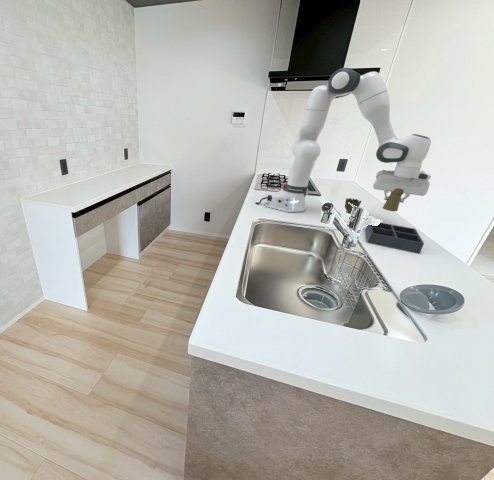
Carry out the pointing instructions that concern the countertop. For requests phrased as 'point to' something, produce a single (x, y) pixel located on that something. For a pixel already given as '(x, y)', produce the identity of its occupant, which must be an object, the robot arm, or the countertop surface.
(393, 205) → the cork
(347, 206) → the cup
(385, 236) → the grid
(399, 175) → the robot arm
